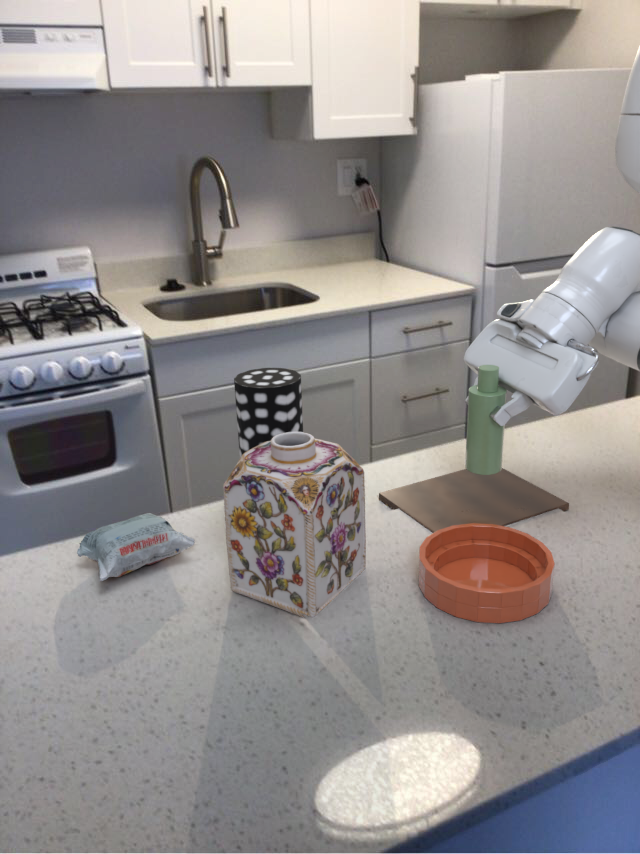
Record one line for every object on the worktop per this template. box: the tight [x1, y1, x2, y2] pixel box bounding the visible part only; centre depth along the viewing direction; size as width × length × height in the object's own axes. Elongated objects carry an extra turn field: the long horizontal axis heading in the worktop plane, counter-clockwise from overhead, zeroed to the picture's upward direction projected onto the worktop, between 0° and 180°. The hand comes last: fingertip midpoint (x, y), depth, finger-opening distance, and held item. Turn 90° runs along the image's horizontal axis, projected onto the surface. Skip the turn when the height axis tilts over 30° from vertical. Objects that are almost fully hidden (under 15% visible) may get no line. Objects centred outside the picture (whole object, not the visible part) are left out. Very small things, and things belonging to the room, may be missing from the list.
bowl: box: [418, 523, 556, 624], centre depth 84 cm, size 14×14×4 cm
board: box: [378, 467, 570, 534], centre depth 103 cm, size 20×16×1 cm
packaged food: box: [76, 512, 196, 582], centre depth 91 cm, size 9×12×5 cm
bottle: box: [464, 365, 508, 475], centre depth 99 cm, size 5×5×14 cm
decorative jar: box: [222, 431, 367, 619], centre depth 84 cm, size 12×12×18 cm
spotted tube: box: [233, 367, 304, 459], centre depth 97 cm, size 8×8×20 cm
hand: (482, 413), depth 98 cm, fingers closed on bottle, 5 cm apart
